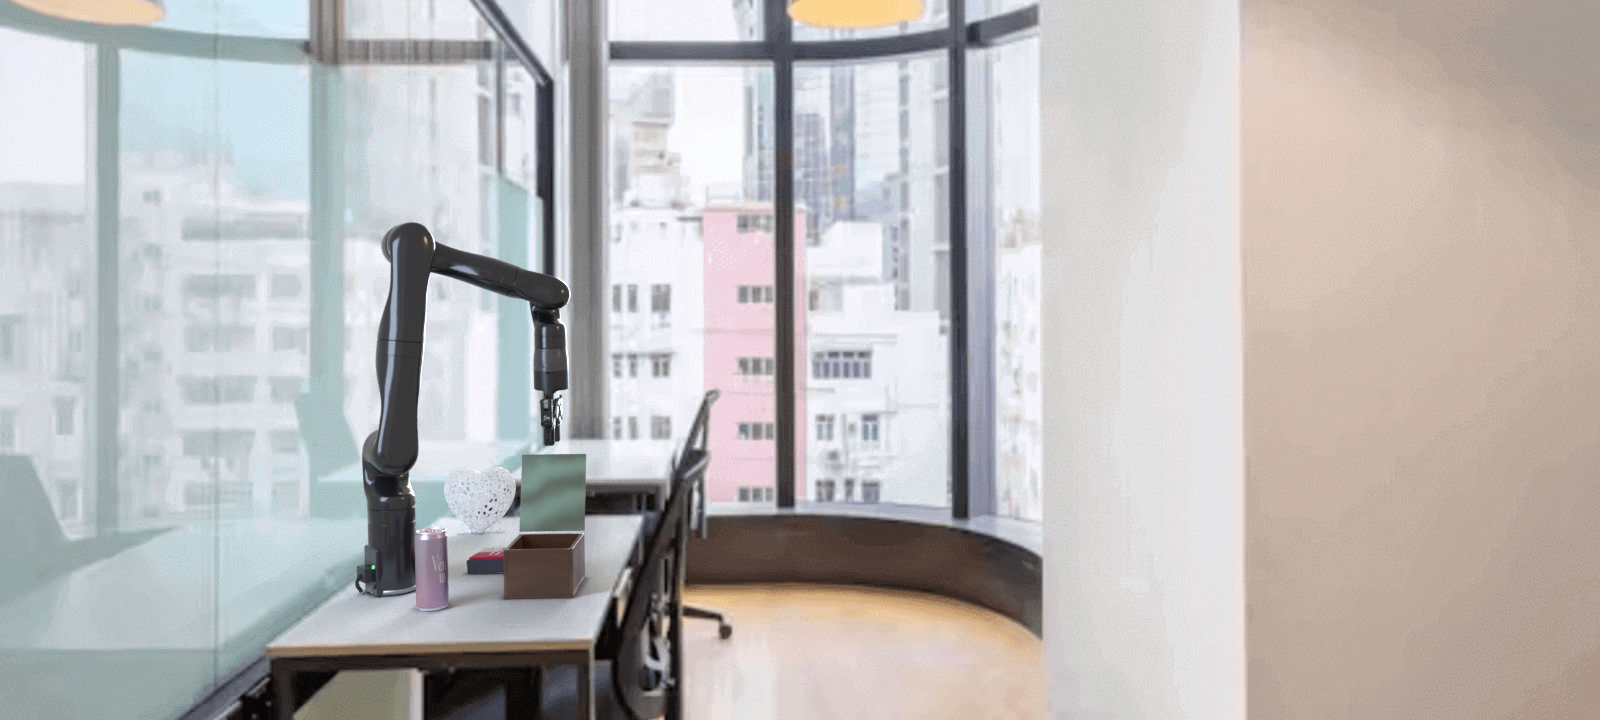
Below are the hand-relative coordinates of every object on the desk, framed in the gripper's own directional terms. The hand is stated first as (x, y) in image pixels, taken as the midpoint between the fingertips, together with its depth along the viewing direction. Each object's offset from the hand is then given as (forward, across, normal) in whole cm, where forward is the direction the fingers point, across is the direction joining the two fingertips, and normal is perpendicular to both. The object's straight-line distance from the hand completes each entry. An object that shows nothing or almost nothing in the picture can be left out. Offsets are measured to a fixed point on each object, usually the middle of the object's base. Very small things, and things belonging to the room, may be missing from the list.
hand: (552, 443), depth 237 cm
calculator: (+28, +1, -10) cm, 30 cm away
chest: (+28, +19, +2) cm, 33 cm away
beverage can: (+28, +31, -18) cm, 46 cm away
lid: (+9, +9, +2) cm, 13 cm away
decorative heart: (+28, -39, -26) cm, 54 cm away
